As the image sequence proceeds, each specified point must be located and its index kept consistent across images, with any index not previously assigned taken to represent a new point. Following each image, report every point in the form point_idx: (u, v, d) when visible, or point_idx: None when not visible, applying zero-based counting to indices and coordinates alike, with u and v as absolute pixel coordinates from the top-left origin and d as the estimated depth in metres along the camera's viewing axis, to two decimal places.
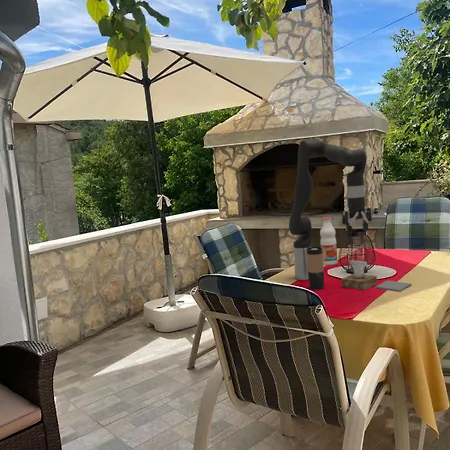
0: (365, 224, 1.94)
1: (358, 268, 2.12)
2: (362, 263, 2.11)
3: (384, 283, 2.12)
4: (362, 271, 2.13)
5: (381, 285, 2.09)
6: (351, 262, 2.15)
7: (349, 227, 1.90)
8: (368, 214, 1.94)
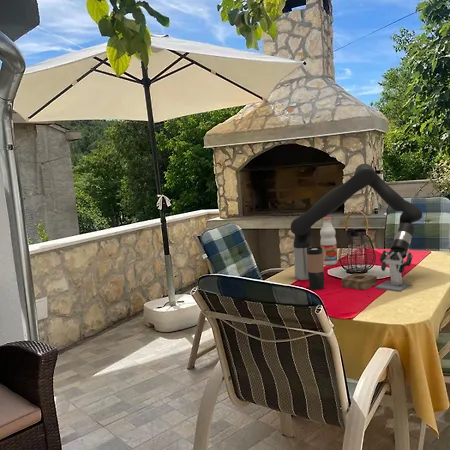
0: (385, 265, 2.10)
1: (394, 267, 2.04)
2: (398, 262, 2.03)
3: (384, 283, 2.12)
4: None
5: (381, 285, 2.09)
6: (386, 261, 2.08)
7: None
8: (385, 257, 2.13)
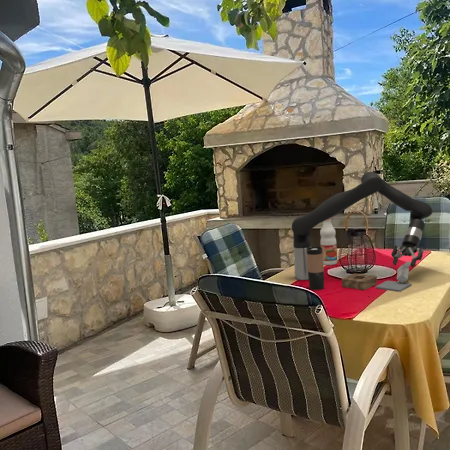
0: (397, 259, 2.18)
1: (402, 266, 2.15)
2: (406, 262, 2.16)
3: (384, 283, 2.12)
4: (406, 270, 2.13)
5: (381, 285, 2.09)
6: (397, 270, 2.19)
7: None
8: (396, 252, 2.21)
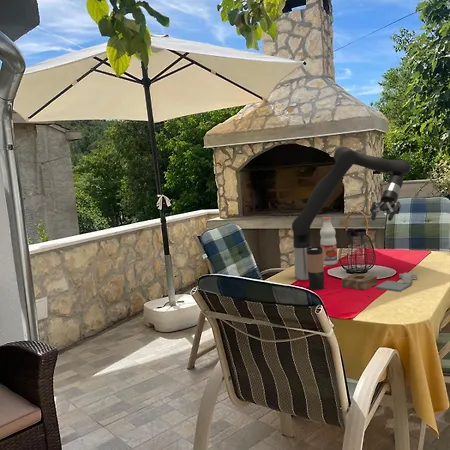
0: (375, 215, 2.21)
1: (409, 273, 2.15)
2: (414, 274, 2.17)
3: (384, 283, 2.12)
4: (411, 278, 2.14)
5: (381, 285, 2.09)
6: None
7: None
8: (375, 208, 2.24)
